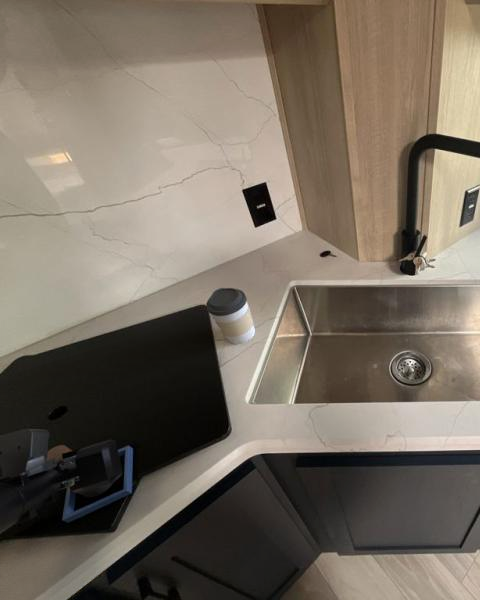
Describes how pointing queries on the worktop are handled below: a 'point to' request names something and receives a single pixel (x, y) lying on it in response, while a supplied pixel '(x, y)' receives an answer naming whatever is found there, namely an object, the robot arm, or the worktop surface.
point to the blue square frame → (70, 497)
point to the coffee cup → (231, 314)
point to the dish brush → (57, 454)
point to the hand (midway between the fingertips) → (79, 459)
